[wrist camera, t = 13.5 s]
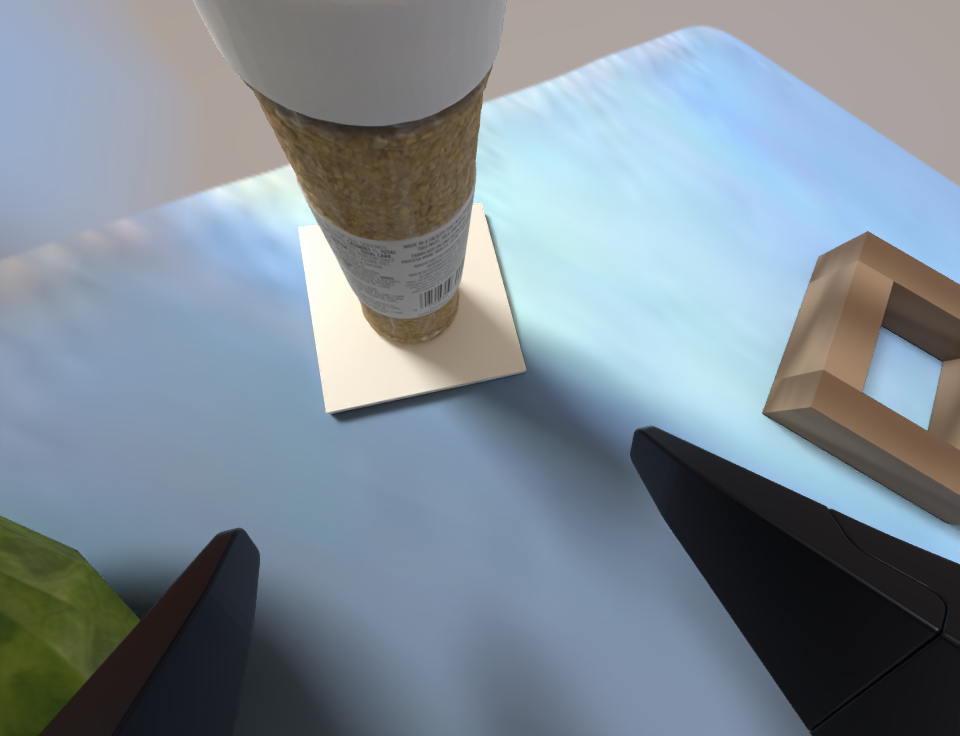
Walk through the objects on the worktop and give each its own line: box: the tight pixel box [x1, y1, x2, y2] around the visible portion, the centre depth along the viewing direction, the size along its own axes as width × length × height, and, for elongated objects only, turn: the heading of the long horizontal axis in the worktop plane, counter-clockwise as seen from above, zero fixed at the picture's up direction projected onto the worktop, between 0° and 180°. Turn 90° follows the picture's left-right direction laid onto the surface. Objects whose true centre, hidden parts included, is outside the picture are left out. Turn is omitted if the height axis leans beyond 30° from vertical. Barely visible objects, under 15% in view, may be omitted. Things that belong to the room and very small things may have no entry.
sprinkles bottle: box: [192, 0, 507, 344], centre depth 11 cm, size 5×5×13 cm
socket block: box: [763, 231, 960, 525], centre depth 19 cm, size 11×11×2 cm
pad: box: [298, 203, 526, 414], centre depth 17 cm, size 9×9×1 cm
